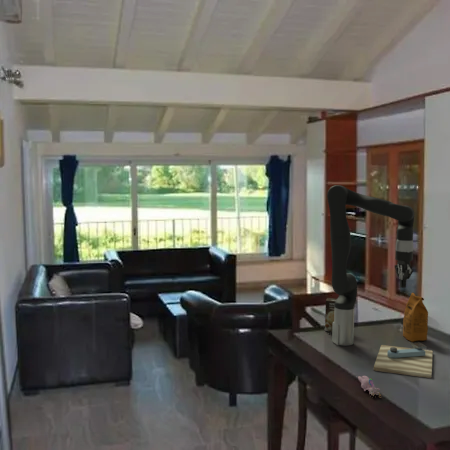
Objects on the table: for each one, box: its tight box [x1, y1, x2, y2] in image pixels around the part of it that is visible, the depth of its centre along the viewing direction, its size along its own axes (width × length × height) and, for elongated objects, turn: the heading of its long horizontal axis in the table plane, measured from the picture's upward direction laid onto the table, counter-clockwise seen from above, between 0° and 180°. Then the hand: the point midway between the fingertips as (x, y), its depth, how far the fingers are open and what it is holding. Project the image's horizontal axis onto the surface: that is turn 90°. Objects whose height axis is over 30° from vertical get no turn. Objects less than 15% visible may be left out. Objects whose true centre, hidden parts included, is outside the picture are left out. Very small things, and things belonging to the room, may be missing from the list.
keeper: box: [410, 341, 427, 350], centre depth 240 cm, size 4×6×4 cm, turn 12°
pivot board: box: [373, 344, 434, 379], centre depth 234 cm, size 30×22×6 cm
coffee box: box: [324, 297, 337, 333], centre depth 279 cm, size 9×6×16 cm
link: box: [387, 348, 425, 358], centre depth 236 cm, size 16×5×2 cm, turn 101°
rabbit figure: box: [357, 375, 382, 397], centre depth 203 cm, size 6×6×15 cm
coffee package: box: [402, 292, 429, 342], centre depth 265 cm, size 10×12×22 cm
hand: (402, 287), depth 248 cm, fingers closed
